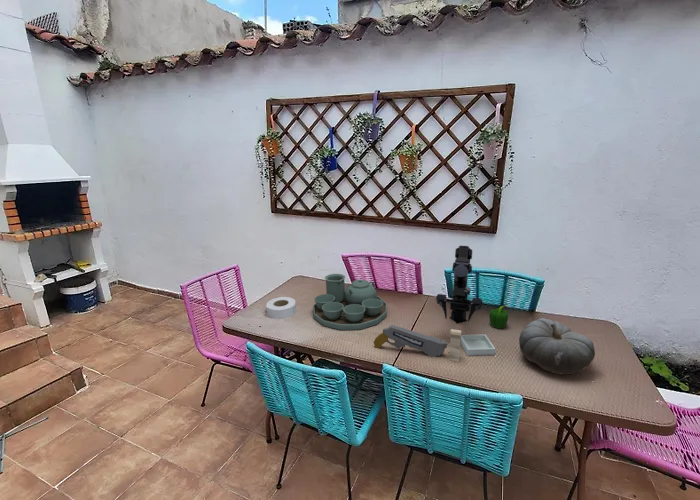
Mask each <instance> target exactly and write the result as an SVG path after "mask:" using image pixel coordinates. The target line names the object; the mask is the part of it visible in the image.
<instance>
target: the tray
mask: <svg viewBox="0 0 700 500" xmlns="http://www.w3.org/2000/svg"><path fill="white" fill-rule="evenodd" d="M460 347H462V349H463V351H464V352H465V355H467V356H466V357H471V356H472V357H476V356H477V357H478V356H479V357H480V356H483V357H484V356H496V352H497V351H496V350H497V348H496V347H495V346H494V344H493V343H492V342H491V340H490V339H489V337H488V336H487V335H486V333H484V334H483V333H482V334H480V333H479V334H461V341H460Z"/></svg>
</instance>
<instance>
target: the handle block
mask: <svg viewBox="0 0 700 500" xmlns="http://www.w3.org/2000/svg"><path fill="white" fill-rule="evenodd" d="M461 335H462V330H458V329H452V328H451V329H450V334H449V349H448V351H449V353H448V360H449V361H452V362H453V361H454V362H460V353H461V344H460V341H461Z"/></svg>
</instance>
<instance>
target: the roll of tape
mask: <svg viewBox="0 0 700 500" xmlns="http://www.w3.org/2000/svg"><path fill="white" fill-rule="evenodd" d="M296 312H297V303H296V300H295V299H294V298H292V297H289V296H280V297H279V296H278V297H275V298H272V299H270V300H269V301H267V302H266V314H267V316H268V317H269V318H271V319H276V320H277V319H279V320H282V319H286V318H290V317H292V316H293V315H295V314H296Z"/></svg>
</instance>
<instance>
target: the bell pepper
mask: <svg viewBox="0 0 700 500" xmlns="http://www.w3.org/2000/svg"><path fill="white" fill-rule="evenodd" d="M504 308H505V307H504V305H500V307H499V308H492V309H490V311H489V316H488V317H489V322H490V324H491V326H492V327H494V328H495V327H496V328H497V329H504V328H505V327H506V325H507V323H508V319H509V314H508V311H507V310H506V309H504Z"/></svg>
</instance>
